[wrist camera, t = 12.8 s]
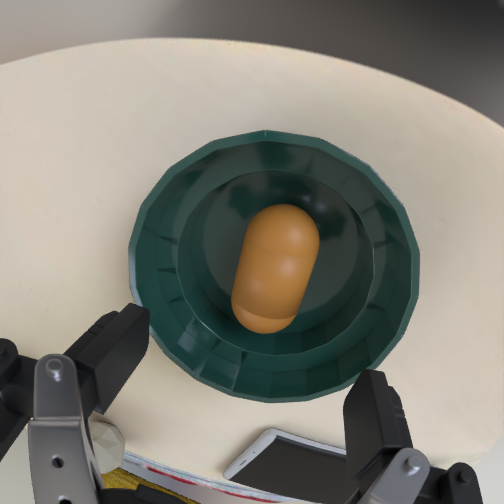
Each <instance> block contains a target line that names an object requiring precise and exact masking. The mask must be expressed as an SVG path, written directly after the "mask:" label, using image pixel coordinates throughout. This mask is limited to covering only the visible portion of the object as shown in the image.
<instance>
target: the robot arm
mask: <svg viewBox="0 0 504 504" xmlns="http://www.w3.org/2000/svg"><path fill="white" fill-rule="evenodd" d="M149 327H150V310H149V309H147V308H144V307H141V306H138V305H136V304H133V303H129V304H128V305H127V306H126V307H125V308H124V309H123V310H122V311H121V312H120V313H119V312H117V311H112V312H110V313H108V314H105V315H103V316H102V317H101V318H100V319H98V320H97V321H96V322H95V323H94V325H92V326H91V327H90V328H89V329H88V331H86V332H85V333H84V334H83V335H82V336H81V337H80V338H79V339H78V340H77V341H76V342H75V343H74V344H73V345H72V346H71V347H70V348H69V349H68V350H67V351H66V352H65V353H63V354H48V355H46V356H44V357H42V358H41V359H39V360H36V359H32V358H29V357H25V356H22V355H19V354H18V351H17V347H16V345H15V344H14V343H13V342H12V341H10V340H8V339H4V338H0V462H1V460H2V459H3V457H4V456H5V454H6V453H7V451H8V450H9V448H10V447H11V445H12V444H13V443H14V441H15V440H16V438H17V437H18V435H19V434H20V433H21V431H22V430H23V428H24V427H25V426H26V424H27V423H28V446H29V460H30V470H31V479H32V486H33V493H34V499H35V504H188V503H186V502H184V501H183V500H181V499H179V498H177V497H176V496H173V495H170V494H167V493H164V492H162V491H159V490H156V489H154V488H151V487H148V486H146V485H143V484H141V483H139V484H138V486H137V488H136V490H135V489H128V488H105V485H104V482H103V479H102V475H101V472H100V469H99V466H98V462H97V458H96V454H95V449H94V445H93V440H92V435H91V429H90V424H89V419H88V417H89V416H90V414H91V413H92V411H93V410H94V411H96V412H98V413H100V414H102V415H104V413H105V412H106V410H107V409H108V407H109V406H110V404H111V403H112V401H113V400H114V399H115V397H116V396H117V394H118V393H119V391H120V390H121V388H122V387H123V386H124V384H125V383H126V381H127V380H128V378H129V377H130V375H131V374H132V373H133V371H134V370H135V368H136V367H137V366H138V364H139V363H140V361H141V360H142V358H143V357H144V355H145V353H146V351H147V348H148V344H149ZM31 417H33V420H30V419H31ZM343 418H344V430H345V443H346V459H347V479H348V481H350V482H359V488H358V489H357V490H356V491H355V492H354V493H353V494H352V495H351V497H350V498H349V499H348V500H347V501H346V502H345V504H483V501H482V496H481V492H480V488H479V484H478V480H477V476H476V473H475V471H474V470H473V469H472V467H470V466H469V465H468V464H466V463H461V462H459V463H455V464H454V465H452V466H451V467H450V468H449V469H448V470H444V469H440V468H437V467H433V466H430V465H429V461H428V459H427V457H426V456H425V455H424V454H423V453H422V452H420V451H419V450H417V449H414V448H413V444H412V440H411V436H410V432H409V429H408V425H407V421H406V418H405V414H404V410H403V409H402V403H401V400H400V396H399V395H398V394H397V392H396V391H395V390H394V388H393V387H392V386H388V383H387V380H386V376H385V373H384V372H382V371H376V370H371V369H363V370H362V372H361V373H360V375H359V376H358V378H357V380H356V382H355V383H354V385H353V386H352V388H351V390H350V391H349V393H348V395H347V396H346V398H345V401H344V405H343Z"/></svg>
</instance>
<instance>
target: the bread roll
mask: <svg viewBox="0 0 504 504" xmlns="http://www.w3.org/2000/svg"><path fill="white" fill-rule="evenodd" d="M319 245H320V237H319V232H318V229H317V227H316V224H315V222H314V221H313V219H312V218H311V217H310V216H309V215H308V214H307V213H306V212H305V211H304V210H302V209H300V208H298V207H296V206H294V205H290V204H276V205H271V206H268V207H266V208H264V209H263V210H261V211H260V212H258V213H257V214H256V215H255V216H254V217H253V218H252V220H251V222H250V223H249V225H248V228H247V231H246V233H245V238H244V242H243V246H242V250H241V255H240V259H239V263H238V267H237V272H236V276H235V280H234V285H233V289H232V294H231V303H232V309H233V312H234V314H235V316H236V318H237V319H238V321H239V322H240V323H241V324H242V325H243V326H244V327H246V328H247V329H249V330H251V331H253V332H256V333H261V334H270V333H275V332H278V331H280V330H282V329H284V328H285V327H287V326H288V325H289V324H290V323H291V322H292V321H293V319H294V318H295V317H296V315H297V313H298V310H299V307H300V305H301V302H302V299H303V296H304V293H305V290H306V287H307V285H308V282H309V279H310V276H311V273H312V270H313V267H314V264H315V261H316V258H317V254H318V250H319Z"/></svg>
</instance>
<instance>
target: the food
mask: <svg viewBox="0 0 504 504" xmlns="http://www.w3.org/2000/svg"><path fill="white" fill-rule="evenodd" d="M101 475H102V479H103V482H104V485H105V488H128V489H135V490H136V488H137V486H138V484H139V483H141V484H143V485H146V486H148V487H151V488H154V489H156V490H159V491H162V492H164V493H167V494H170V495H173V496H176V497H177V498H179V499H181V500H183V501H184V502H186V503H188V504H200V503H198V502H196V501H194V500H191V499H188V498H187V497H184V496H182V495H179V494H177V493H175V492H173V491H171V490H169V489H166V488H163V487H162V486H159V485H157V484H154V483H151V482H148V481H147V480H145V479H142V478H141V477H138V476H136V475H135V474H132V473H129V472H128V471H126V470H123V469H121V468H119V467H118V468H116V469H114V470H112V471H110V472H108V473H106V474H101Z"/></svg>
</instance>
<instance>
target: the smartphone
mask: <svg viewBox="0 0 504 504" xmlns="http://www.w3.org/2000/svg"><path fill="white" fill-rule="evenodd" d="M430 466H433V465H430ZM433 467H437V468H439V467H438V466H433ZM223 477H224V478H225V479H227V480H230V481H233V482H236V483H239V484H242V485H245V486H249V487H252V488H255V489H259V490H263V491H266V492H270V493H274V494H278V495H282V496H286V497H291V498H295V499H300V500H305V501H311V502H316V503H322V504H345V502H346V501H347V500H348V499H349V498H350V497H351V495H352V494H353V493H354V492H355V491H356V490H357V489H358V488H359V482H350V481H348V479H347V459H346V450H344V449H340V448H336V447H333V446H329V445H325V444H322V443H318V442H315V441H311V440H308V439H305V438H302V437H298V436H295V435H292V434H289V433H286V432H283V431H280V430H277V429H273V428H271V429H267V430H265V431H264V432H263V433H262V434H261V435H260V436H259V437H258V438H257V439H256V440H255V441H254V442H253V443H252V444H251V445H250V446H249V447H248V448H247V449H246V450H245V451H244V452H243V453H242V454H241V455H240V456H239V457H238V458H237V459H236V460H235V461H233V462H232V463H231V464H230V465H229V466H228V467H227V468H226V469H225V470H224V472H223Z"/></svg>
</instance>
